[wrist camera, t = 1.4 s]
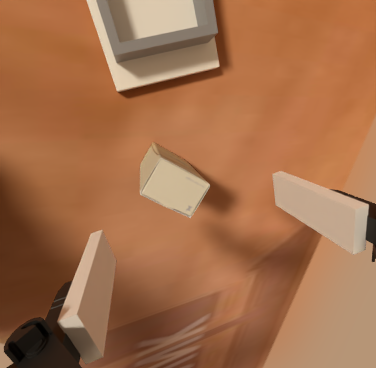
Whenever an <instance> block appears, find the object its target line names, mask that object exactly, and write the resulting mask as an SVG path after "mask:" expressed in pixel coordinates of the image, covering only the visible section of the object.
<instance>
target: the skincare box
mask: <svg viewBox="0 0 376 368" xmlns="http://www.w3.org/2000/svg"><path fill="white" fill-rule="evenodd" d="M209 187H210V184H209V183H208V182H207V181H206V180H205V179H204V178H203V177H202V176H201V175H200V174H199V173H198V172H197V171H196V170H195V169H194V168H193V167H192V166H191V165H190V164H189V163H188V162H187V161H186V160H184V159H182V158H181V157H179V156H177V155H176V154H174V153H172V152H170V151H169V150H167V149H165V148H163V147H162V146H160V145H158V144H156V143H155V142H153V143H152V145H151V146H150V148H149V150H148V152H147V153H146V155H145V157H144V159H143V160H142V162H141V164H140V195H142V196H144V197H146V198H148V199H150V200H152V201H154V202H156V203H158V204H160V205H162V206H164V207H167V208H169V209H171V210H173V211H176V212H178V213H180V214H183V215H185V216H187V217H189V218H191V217H192V215H193V213H194V212H195V210H196V209H197V207H198V206H199V204H200V202H201V201H202V199H203V198H204V196H205V194H206V193H207V191H208V189H209Z"/></svg>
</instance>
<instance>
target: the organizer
mask: <svg viewBox="0 0 376 368" xmlns="http://www.w3.org/2000/svg"><path fill="white" fill-rule="evenodd" d="M87 3H88V6H89V9H90V12H91V15H92V18H93V21H94V24H95V27H96V30H97V33H98V36H99V39H100V42H101V45H102V48H103V51H104V54H105V57H106V60H107V63H108V66H109V69H110V72H111V75H112V77H113V80H114V83H115V86H116V89H117V92H122V91H126V90H130V89H134V88H138V87H142V86H146V85H151V84H155V83H159V82H163V81H167V80H171V79H175V78H179V77H184V76H188V75H192V74H196V73H200V72H204V71H208V70H213V69H216V68H218V67H220V66H219V60H218V54H217V48H216V42H215V35H216V34H218V29H217V23H216V16H215V10H214V4H213V0H87Z"/></svg>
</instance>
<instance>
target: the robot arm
mask: <svg viewBox="0 0 376 368" xmlns="http://www.w3.org/2000/svg"><path fill="white" fill-rule="evenodd" d="M273 184H274V193H275V203H276V206H278V207H280V208H281V209H283V210H284V211H286V212H287V213H289V214H290V215H292V216H294V217H295V218H297V219H298V220H300V221H301V222H303V223H304V224H306V225H308V226H309V227H311V228H312V229H314V230H315V231H317V232H318V233H320V234H322V235H323V236H325V237H326V238H328V239H329V240H331V241H333V242H334V243H336V244H337V245H339V246H340V247H342V248H343V249H345V250H347V251H348V252H350V253H351V254H353V255H354V254H357V253H359V252H361V251H364V250H365V248H366V240H367V241H369V242H371V243H373V252H372V262H375V259H376V204H374V203H372V202H369V201H366V200H364V199H361V198H358V197H354V196H353V195H350V194H349V195H348V194H347V193H345V192H342V191H339V190H333V189H327V188H324V187H322V186H319V185H317V184H314V183H311V182H309V181H306V180H304V179H301V178H298V177H296V176H293V175H290V174H288V173H285V172H283V171H280V172H277V173H274V174H273ZM116 262H117V261H116V258H115V256H114V254H113V252H112V250H111V247H110V245H109V243H108V241H107V239H106V237H105V234H104V232H103V230H100V231H97V232H94V233H91V235H90V238H89V240H88V243H87V245H86V248H85V251H84V253H83V256H82V258H81V261H80V264H79V266H78V269H77V271H76V274H75V276H74V279H73V281H70V282H67V283H65V284H64V285H63V286H62V288H61V289H60V290H59V291H58V293H57V295H56V297H55V299H54V302H53V304H52V306H51V310H50V311H49V313H48V315H47V317H46V320H44V319H43V318H41V317H39V318H34V319H31V320H29V321H27V322H26V323H24V324H23V325H21V326H20V327H19V328H18V329H16V330H15V331H14V332H13V333H12V334H11V336H10V337H9V338H8V340H7V341H6V343H5V346H4V352H5V354H6V355H7V356H8V357H9V358H10V359H11V360H12V362H13V364H12V365H10V366H9V367H7V368H82V367H81V366H80V365H79V360H80V357H81V358H82V359H83V361H84V362H85V364H88V363H90V362H93V361H95V360H98V359H100V358H103V356H104V349H105V342H106V334H107V327H108V320H109V313H110V305H111V298H112V291H113V284H114V276H115V269H116Z"/></svg>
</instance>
